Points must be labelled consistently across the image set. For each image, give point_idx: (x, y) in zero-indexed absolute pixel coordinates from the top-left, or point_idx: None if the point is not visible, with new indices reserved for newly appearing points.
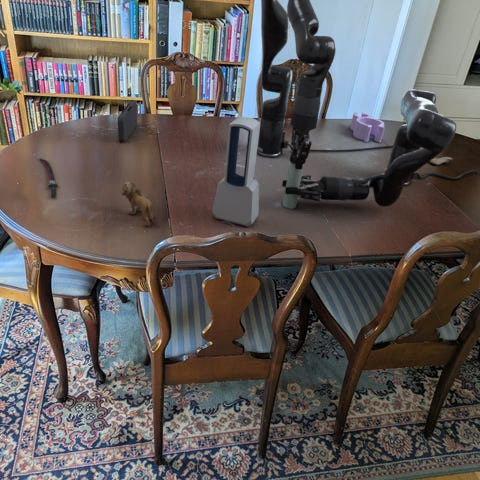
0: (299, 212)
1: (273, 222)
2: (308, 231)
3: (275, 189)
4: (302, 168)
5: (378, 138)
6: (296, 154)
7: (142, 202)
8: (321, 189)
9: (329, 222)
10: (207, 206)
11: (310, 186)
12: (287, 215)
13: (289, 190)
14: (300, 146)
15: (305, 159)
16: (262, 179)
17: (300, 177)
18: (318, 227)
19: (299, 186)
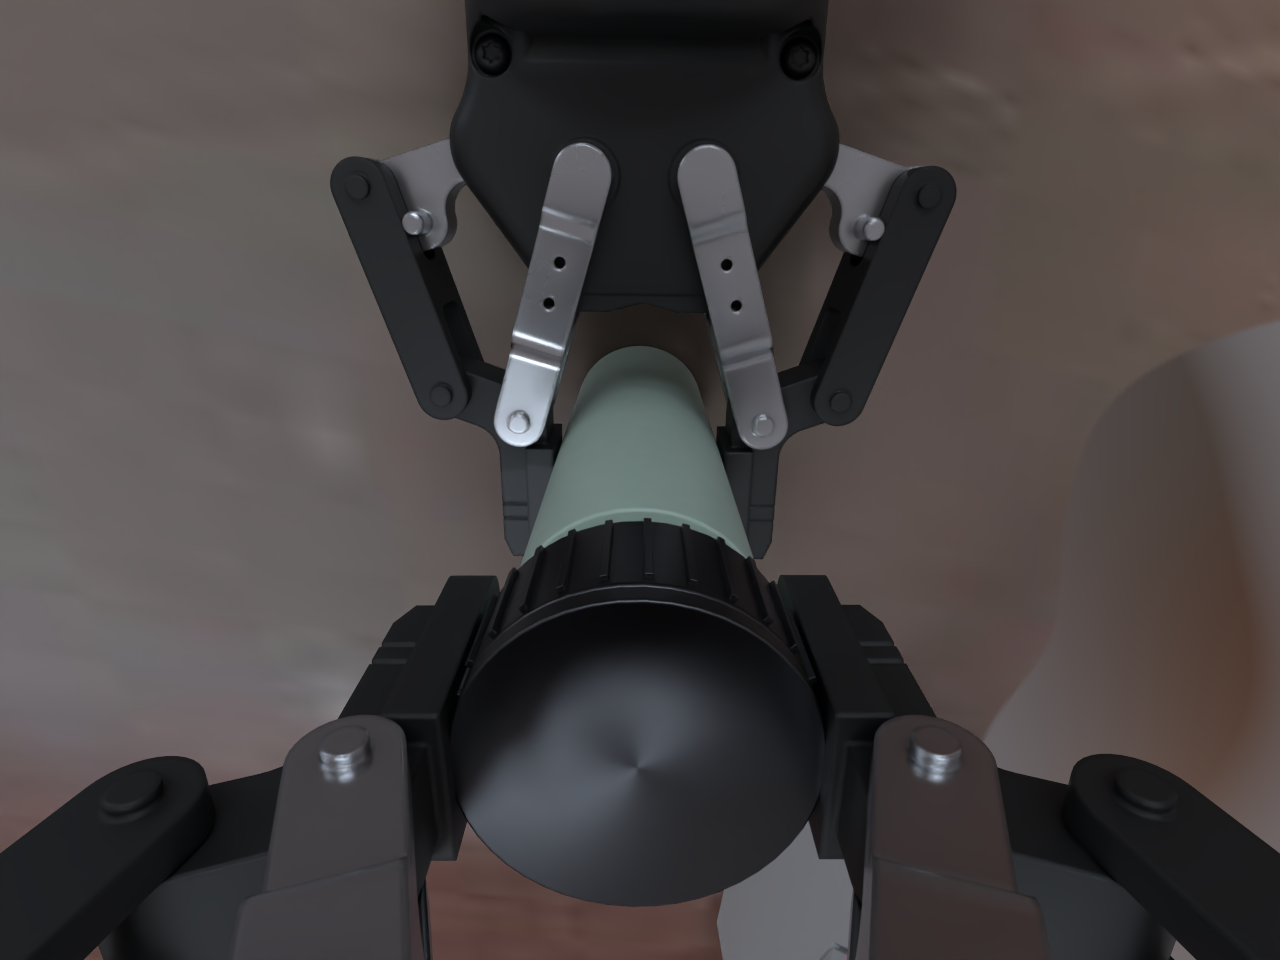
0: (774, 340)
1: (923, 592)
2: (1111, 339)
3: (330, 471)
4: (726, 526)
5: None
6: (625, 810)
7: None
8: (797, 111)
9: (993, 64)
10: (674, 947)
11: (758, 286)
12: (822, 462)
13: (767, 543)
14: (409, 842)
15: (735, 586)
16: (141, 552)
17: (719, 474)
18: (1064, 221)
19: (684, 411)
